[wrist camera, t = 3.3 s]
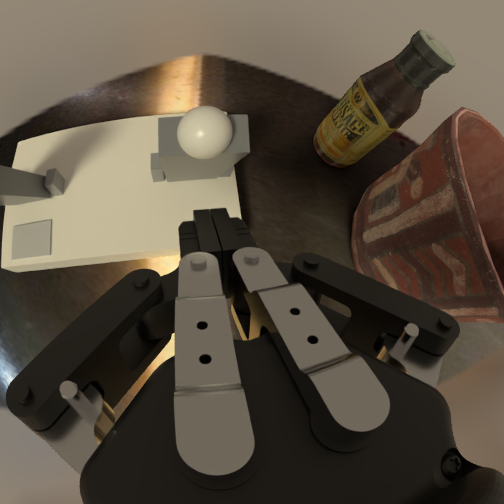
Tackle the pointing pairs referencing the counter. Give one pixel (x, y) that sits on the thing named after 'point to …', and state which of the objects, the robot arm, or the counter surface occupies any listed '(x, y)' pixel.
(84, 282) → the counter surface
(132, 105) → the counter surface
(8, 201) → the grey marked lever
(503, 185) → the pottery
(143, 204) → the switch unit
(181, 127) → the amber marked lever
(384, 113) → the sauce bottle
